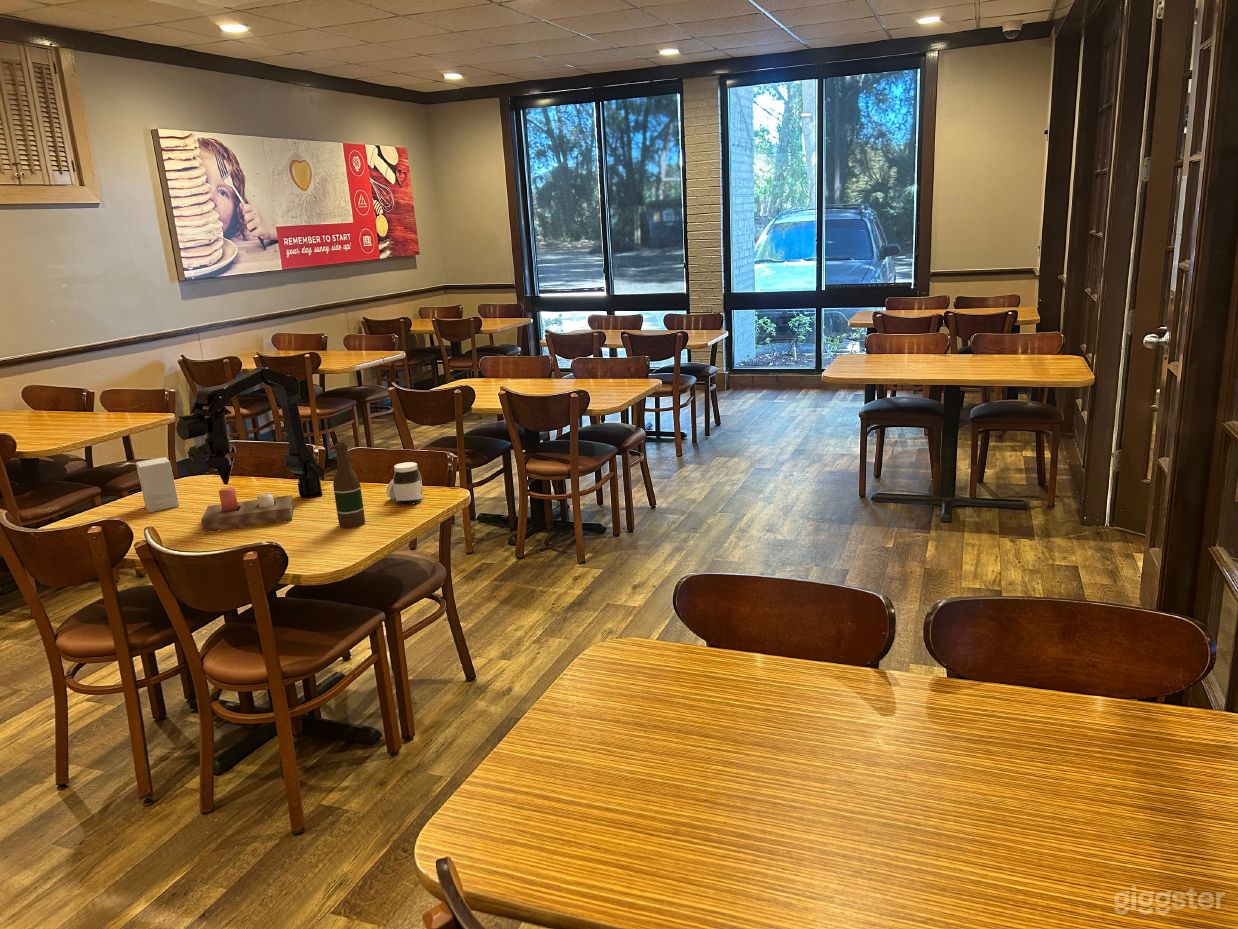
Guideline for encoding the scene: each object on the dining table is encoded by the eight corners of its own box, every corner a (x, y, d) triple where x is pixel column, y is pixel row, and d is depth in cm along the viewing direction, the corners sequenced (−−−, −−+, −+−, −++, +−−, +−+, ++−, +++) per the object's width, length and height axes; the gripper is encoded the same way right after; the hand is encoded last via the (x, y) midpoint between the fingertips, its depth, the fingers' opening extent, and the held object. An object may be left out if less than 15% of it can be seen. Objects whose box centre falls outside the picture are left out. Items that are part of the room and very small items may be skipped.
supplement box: (175, 500, 289) (166, 456, 285) (179, 506, 282) (171, 461, 278) (144, 506, 284) (135, 461, 281) (148, 512, 277) (138, 466, 273)
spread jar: (418, 505, 269) (414, 468, 265) (381, 507, 269) (376, 470, 266) (427, 494, 280) (423, 458, 277) (392, 496, 280) (387, 460, 277)
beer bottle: (361, 528, 250) (350, 446, 244) (334, 529, 251) (322, 447, 245) (369, 519, 258) (358, 439, 252) (343, 520, 258) (331, 440, 252)
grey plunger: (276, 511, 268) (273, 492, 266) (275, 516, 264) (272, 496, 262) (260, 513, 267) (257, 494, 265) (259, 518, 263) (256, 498, 261)
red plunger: (239, 506, 264) (235, 487, 263) (237, 510, 260) (234, 490, 259) (223, 508, 263) (219, 489, 262) (221, 512, 259) (217, 492, 258)
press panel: (294, 507, 274) (292, 495, 273) (291, 520, 261) (289, 507, 260) (210, 518, 267) (207, 506, 266) (203, 532, 254) (201, 519, 253)
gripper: (191, 429, 262) (200, 479, 266) (181, 442, 245) (191, 496, 249) (231, 424, 265) (240, 474, 269) (224, 437, 248) (234, 490, 252)
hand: (226, 484), depth 260 cm, fingers closed
